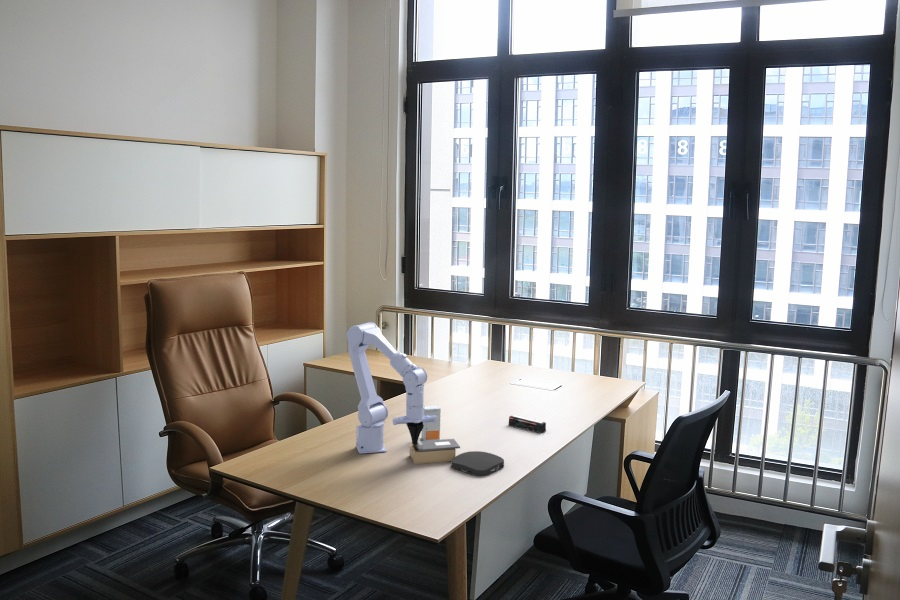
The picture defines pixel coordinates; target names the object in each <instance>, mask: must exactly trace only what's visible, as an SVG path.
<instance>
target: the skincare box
mask: <svg viewBox="0 0 900 600" xmlns="http://www.w3.org/2000/svg"><path fill="white" fill-rule="evenodd" d="M423 415H436V417H437V422H425V423H423V425H424V427H423V429H422V431H421V439H422V441H429V440H441V407H440V406H439V405H425V406H423Z"/></svg>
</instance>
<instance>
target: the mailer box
mask: <svg viewBox="0 0 900 600" xmlns="http://www.w3.org/2000/svg"><path fill="white" fill-rule="evenodd" d="M456 452H457V451H456V449H443V450H430V451H418V449H417V447H416V446H415V445H413V444H412V443H410V444H409V457H410V459H411V461H412V463H413V464H414V465H421V464H432V463H435V464H436V463H446V462H451V461H452V459H453V458H454V457H456V456H457V455H456Z"/></svg>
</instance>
